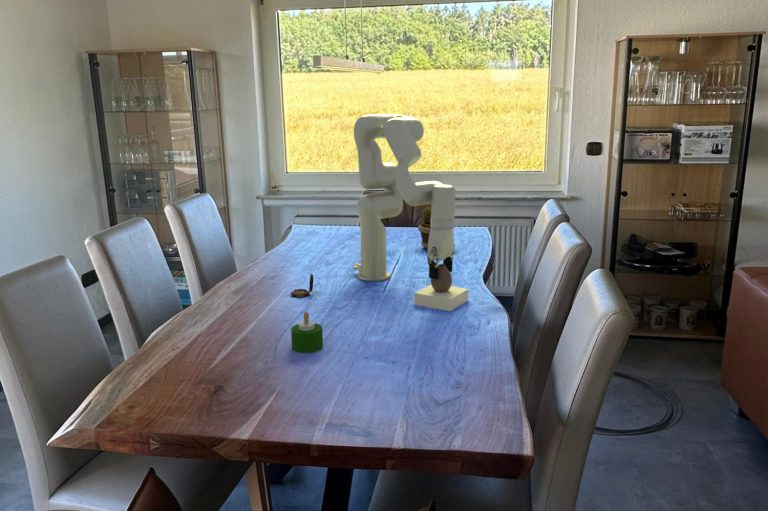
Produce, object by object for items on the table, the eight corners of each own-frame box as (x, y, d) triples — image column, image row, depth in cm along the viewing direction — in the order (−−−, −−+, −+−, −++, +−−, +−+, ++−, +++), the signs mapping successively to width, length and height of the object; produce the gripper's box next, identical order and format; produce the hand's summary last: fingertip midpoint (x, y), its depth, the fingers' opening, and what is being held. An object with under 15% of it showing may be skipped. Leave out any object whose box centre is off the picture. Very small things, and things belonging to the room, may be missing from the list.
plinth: (414, 304, 203) (414, 292, 202) (433, 294, 213) (433, 283, 213) (450, 311, 196) (450, 299, 195) (467, 300, 207) (468, 289, 206)
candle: (309, 355, 163) (308, 319, 160) (285, 349, 167) (283, 313, 165) (328, 345, 170) (327, 310, 167) (305, 339, 174) (303, 305, 172)
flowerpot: (456, 246, 283) (457, 203, 278) (441, 253, 271) (441, 208, 266) (428, 243, 291) (429, 200, 286) (412, 249, 278) (412, 205, 273)
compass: (290, 292, 217) (289, 272, 215) (313, 291, 218) (313, 271, 216) (290, 299, 209) (289, 279, 207) (314, 298, 210) (313, 277, 208)
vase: (450, 294, 200) (451, 268, 198) (429, 293, 201) (429, 267, 199) (452, 288, 207) (453, 262, 204) (432, 287, 208) (432, 261, 206)
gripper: (444, 217, 208) (442, 267, 212) (418, 226, 193) (417, 279, 198) (464, 220, 204) (462, 270, 208) (440, 229, 190) (438, 283, 194)
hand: (440, 275), depth 203 cm, fingers open, 9 cm apart
